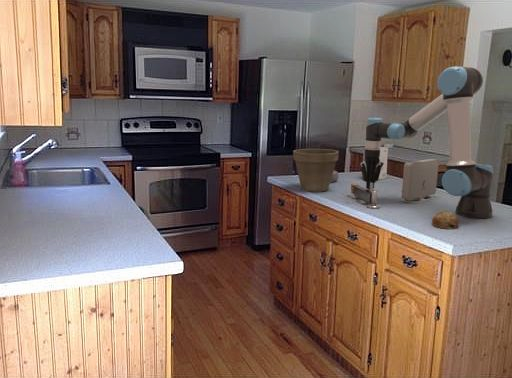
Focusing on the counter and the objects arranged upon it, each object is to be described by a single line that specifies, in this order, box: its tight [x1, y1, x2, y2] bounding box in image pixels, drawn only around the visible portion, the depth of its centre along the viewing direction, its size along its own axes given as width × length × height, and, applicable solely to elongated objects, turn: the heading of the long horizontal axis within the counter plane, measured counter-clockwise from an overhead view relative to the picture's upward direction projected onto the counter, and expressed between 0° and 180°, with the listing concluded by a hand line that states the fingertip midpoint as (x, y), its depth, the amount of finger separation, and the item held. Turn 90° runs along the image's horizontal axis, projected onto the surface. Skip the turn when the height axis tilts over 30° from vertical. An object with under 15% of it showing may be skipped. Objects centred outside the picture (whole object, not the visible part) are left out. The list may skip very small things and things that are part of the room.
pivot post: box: [366, 189, 381, 210], centre depth 221 cm, size 6×6×8 cm
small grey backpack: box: [330, 170, 339, 184], centre depth 284 cm, size 15×8×20 cm
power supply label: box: [355, 199, 371, 205], centre depth 232 cm, size 8×7×1 cm
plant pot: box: [292, 148, 339, 193], centre depth 259 cm, size 25×25×22 cm
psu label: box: [346, 194, 362, 200], centre depth 243 cm, size 8×7×1 cm
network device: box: [401, 158, 440, 204], centre depth 238 cm, size 26×9×20 cm, turn 129°
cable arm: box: [350, 183, 372, 203], centre depth 235 cm, size 24×3×5 cm, turn 10°
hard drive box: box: [361, 146, 389, 181], centre depth 295 cm, size 16×8×20 cm, turn 130°
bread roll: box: [431, 210, 460, 230], centre depth 191 cm, size 10×10×8 cm
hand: (369, 194), depth 240 cm, fingers closed
